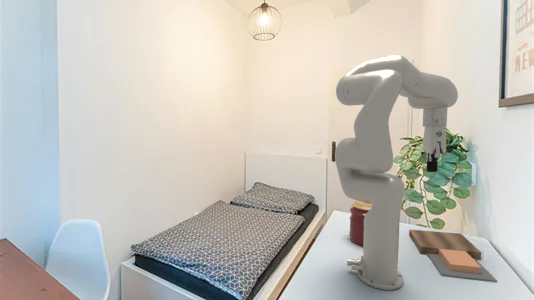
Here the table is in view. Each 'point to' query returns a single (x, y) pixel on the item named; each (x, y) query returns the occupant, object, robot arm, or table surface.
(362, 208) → the canister
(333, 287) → the table surface
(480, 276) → the mat
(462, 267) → the tile
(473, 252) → the brown wooden board
